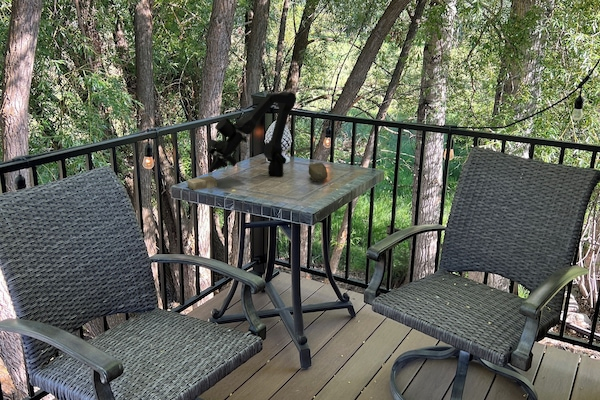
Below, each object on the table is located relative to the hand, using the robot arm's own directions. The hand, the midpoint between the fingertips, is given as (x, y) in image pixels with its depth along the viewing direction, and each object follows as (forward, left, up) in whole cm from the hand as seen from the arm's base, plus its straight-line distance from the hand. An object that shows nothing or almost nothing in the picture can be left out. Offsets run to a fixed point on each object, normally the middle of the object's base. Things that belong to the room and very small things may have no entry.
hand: (209, 171), depth 254 cm
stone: (-46, -16, -7) cm, 50 cm away
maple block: (-1, -1, -5) cm, 5 cm away
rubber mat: (-6, -5, -7) cm, 10 cm away
